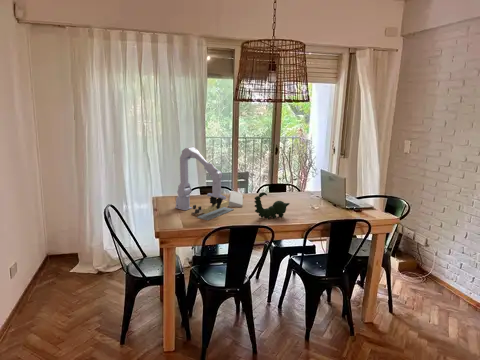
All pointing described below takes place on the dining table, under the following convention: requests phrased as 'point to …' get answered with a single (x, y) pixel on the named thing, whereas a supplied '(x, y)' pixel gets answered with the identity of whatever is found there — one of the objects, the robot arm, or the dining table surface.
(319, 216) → the dining table surface
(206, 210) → the rail
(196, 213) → the rail stand
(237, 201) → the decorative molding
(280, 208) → the toy figurine
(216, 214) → the mat
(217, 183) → the robot arm
